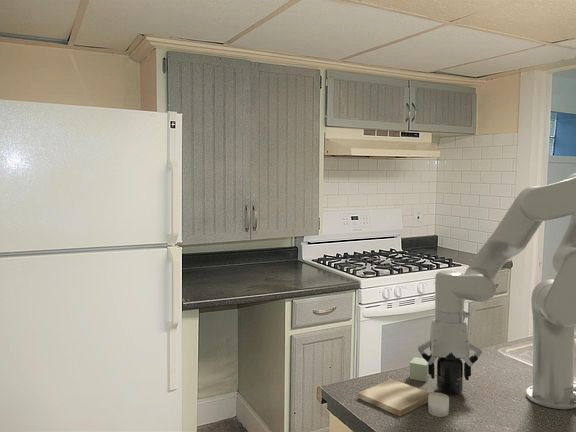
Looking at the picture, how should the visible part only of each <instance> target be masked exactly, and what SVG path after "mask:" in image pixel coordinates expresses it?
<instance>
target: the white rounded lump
mask: <svg viewBox="0 0 576 432" xmlns="http://www.w3.org/2000/svg"><path fill="white" fill-rule="evenodd" d="M430 393H431V394H429V395H428V402H427V404H428V405H427V406H428V407H427V409H428V413H429V414H430V415H431V416H434V417H438V418H443V417H444V418H445V417H447V416H449V415H450V397H449V395H446V394H443V393H441V392H430Z"/></svg>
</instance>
